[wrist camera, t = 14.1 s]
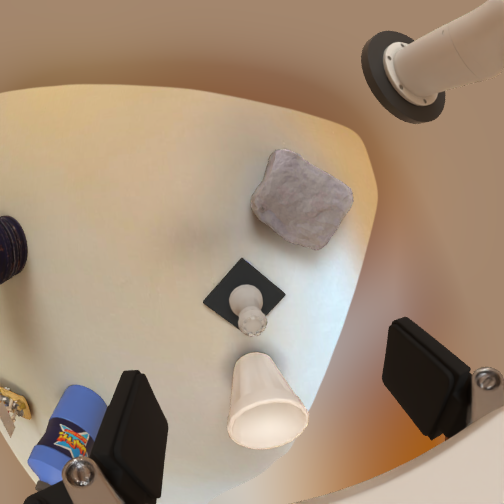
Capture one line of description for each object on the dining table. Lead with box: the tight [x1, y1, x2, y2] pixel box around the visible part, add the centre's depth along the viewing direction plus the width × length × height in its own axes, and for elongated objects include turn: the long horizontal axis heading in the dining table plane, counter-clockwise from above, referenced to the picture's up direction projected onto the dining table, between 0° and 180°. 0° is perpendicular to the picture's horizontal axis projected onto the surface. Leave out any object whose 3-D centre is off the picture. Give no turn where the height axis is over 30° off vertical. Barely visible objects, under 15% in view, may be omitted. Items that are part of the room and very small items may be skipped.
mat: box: [203, 258, 286, 329], centre depth 38 cm, size 8×8×1 cm
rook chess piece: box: [229, 285, 267, 337], centre depth 33 cm, size 4×4×8 cm
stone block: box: [251, 149, 353, 250], centre depth 34 cm, size 12×5×10 cm
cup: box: [227, 352, 309, 449], centre depth 34 cm, size 10×10×13 cm
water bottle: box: [28, 385, 107, 492], centre depth 27 cm, size 9×9×25 cm
